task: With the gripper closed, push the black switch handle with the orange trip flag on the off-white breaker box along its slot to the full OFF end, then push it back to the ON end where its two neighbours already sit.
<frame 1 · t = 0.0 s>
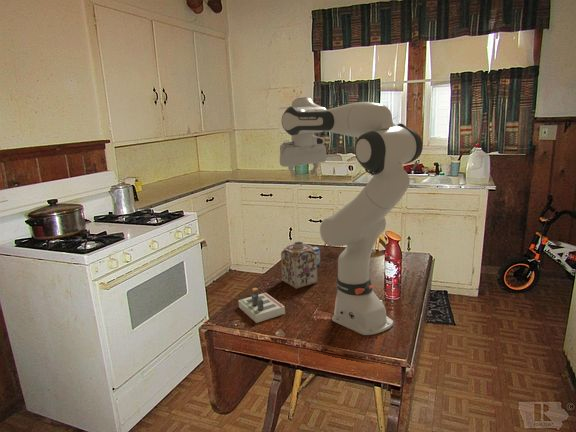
hand: (303, 175, 168), 48 cm above the table, tool pointing down, fingers open, 8 cm apart
decorative jar: (299, 282, 186), on the table
medicine box: (311, 266, 204), on the table
breaker box: (261, 310, 160), on the table
tripped breaker handle: (255, 299, 163), point 3 cm above the table, slide at 0.0 cm
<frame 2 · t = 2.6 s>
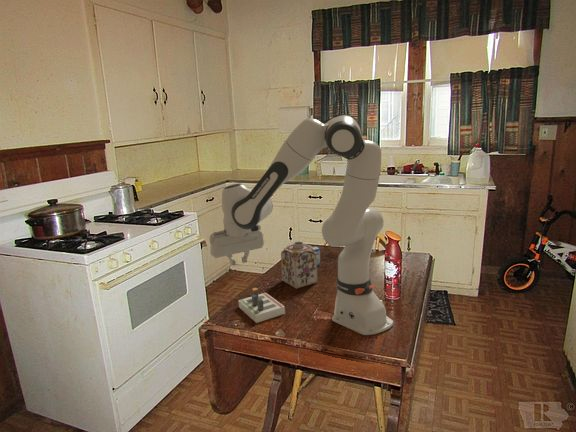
hand: (238, 263, 156), 19 cm above the table, tool pointing down, fingers open, 3 cm apart
nothing on the table moved.
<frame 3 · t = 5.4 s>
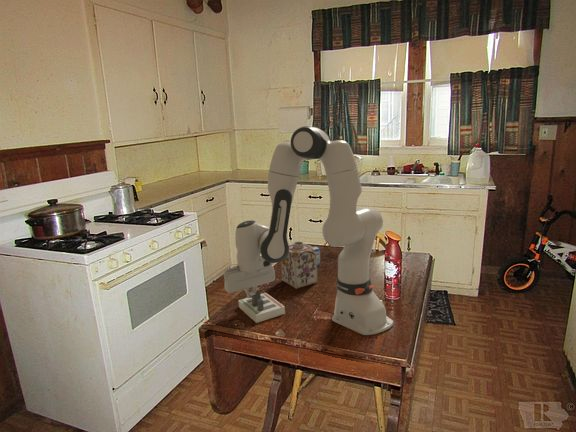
hand: (251, 297, 162), 4 cm above the table, tool pointing down, fingers closed
tripped breaker handle: (257, 298, 164), point 3 cm above the table, slide at -1.0 cm, touching gripper
everything else where it was.
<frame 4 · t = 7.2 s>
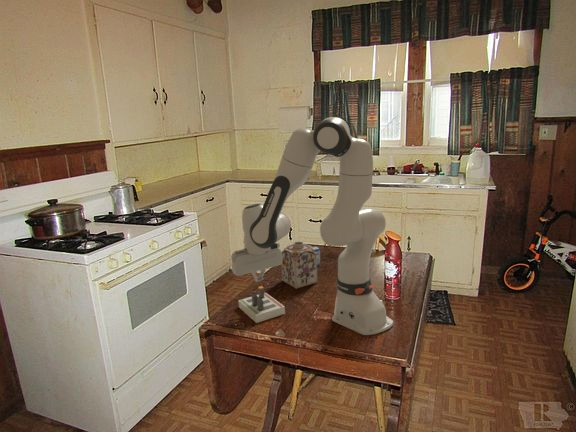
hand: (259, 280, 162), 11 cm above the table, tool pointing down, fingers closed
tripped breaker handle: (261, 297, 165), point 3 cm above the table, slide at -2.6 cm
everything else where it was.
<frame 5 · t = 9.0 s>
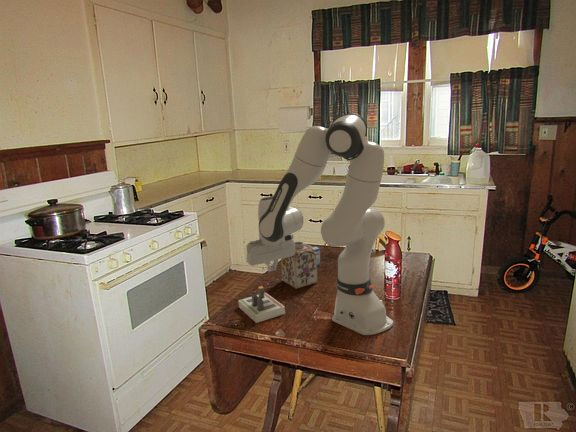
hand: (271, 270, 165), 13 cm above the table, tool pointing down, fingers closed
nothing on the table moved.
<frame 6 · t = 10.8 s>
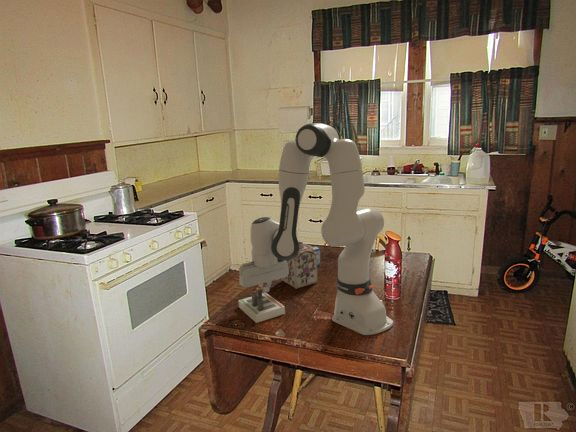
hand: (265, 291, 165), 5 cm above the table, tool pointing down, fingers closed
tripped breaker handle: (259, 297, 164), point 3 cm above the table, slide at -1.7 cm, touching gripper
everything else where it was.
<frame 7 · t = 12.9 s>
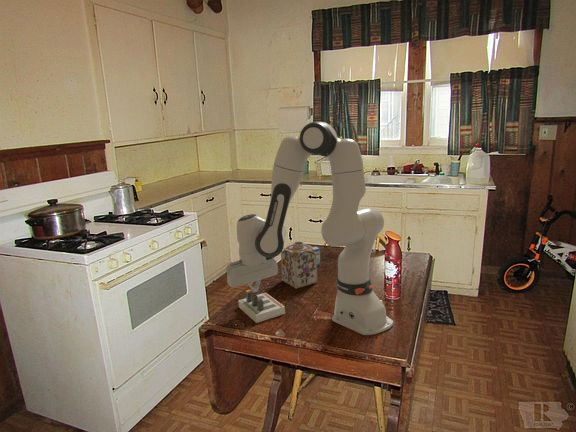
hand: (254, 291, 161), 7 cm above the table, tool pointing down, fingers closed
tripped breaker handle: (249, 300, 162), point 3 cm above the table, slide at 2.8 cm, touching gripper
everything else where it was.
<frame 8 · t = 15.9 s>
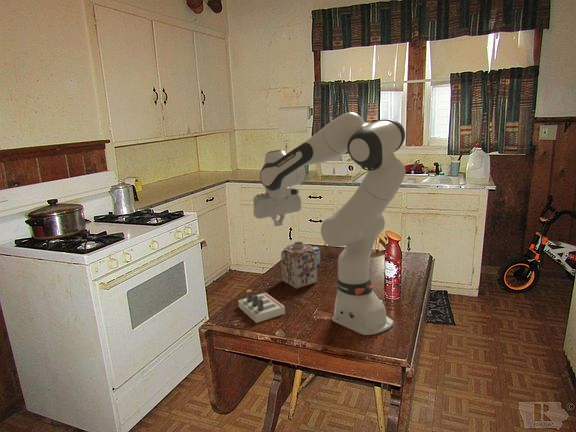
hand: (278, 225, 168), 29 cm above the table, tool pointing down, fingers closed
tripped breaker handle: (249, 300, 162), point 3 cm above the table, slide at 2.6 cm
everything else where it was.
at the end: tripped breaker handle slide at 2.6 cm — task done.
